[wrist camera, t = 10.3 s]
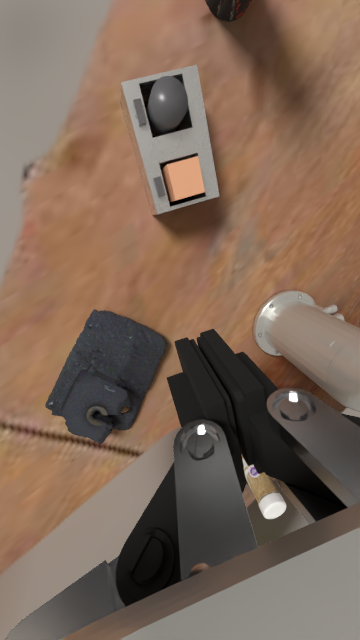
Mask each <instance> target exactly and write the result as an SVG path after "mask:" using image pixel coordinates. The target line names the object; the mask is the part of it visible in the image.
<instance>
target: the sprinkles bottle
mask: <svg viewBox="0 0 360 640" xmlns="http://www.w3.org/2000/svg"><path fill="white" fill-rule="evenodd" d="M241 455H242V454H241ZM242 460H243V465H244V473H245V478H246V480H247V482H248V484H249V486H250V488H251V490H252V491H253V493H254V495H255V497H256V499H257V501H258V505H259V508H260V510H261V512H262V514H263V515H264V517H265V518H267V519H273V518H276V517H278V516H280V515H281V514H282V513H283V512H284V511H285V509H286V503H285V502H284V500H283V498H282V496H281V495H280V494H279V492H277V489H276V488H275V486H274V484H273V482H272V481H271V479H270V477H269V476H268V475H266V474H265V472H263V473H261V474H258V472H257V471H256V469H255V467H254V465H250V466H248V465H247V463H246V462H245V460H244V458H243V456H242Z"/></svg>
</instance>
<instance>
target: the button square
mask: <svg viewBox="0 0 360 640" xmlns="http://www.w3.org/2000/svg"><path fill="white" fill-rule="evenodd" d="M161 173H162V177H163V181H164V185H165V189H166V193H167V196H168V200H169V202H172V201H176V200H179V199H183V198H186V197H190V196H193V195H196V194H200V193H203V192H205V189H204V184H203V179H202V174H201V168H200V163H199V158H198V156H197V157H193V158H189V159H186V160H182V161H178V162H175V163H171V164H167V165H166V166H165V167H164V168H163V169H162V170H161Z"/></svg>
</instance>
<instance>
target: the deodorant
mask: <svg viewBox="0 0 360 640" xmlns="http://www.w3.org/2000/svg"><path fill="white" fill-rule="evenodd" d="M251 1H252V0H206V3H207V5H208V7H209V8H210V10H211V11H212V12H213V14H214V15H215V16H216V17H218V18H220V19H222V20H225V21H232V20H236V19H237V18H239V17H240V16H241V15H242V14H243V13H244V12H245V10H246V9H247V7H248V6H249V4H250V2H251Z"/></svg>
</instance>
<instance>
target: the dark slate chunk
mask: <svg viewBox="0 0 360 640" xmlns="http://www.w3.org/2000/svg"><path fill="white" fill-rule="evenodd" d="M166 347H167V342H166V340H165V339H164V337H163V336H162V335H160V334H158V333H156V332H154V331H152V330H150V329H149V328H147V327H146V326H143V325H141V324H138V323H135V322H134V321H132V320H130V319H128V318H126V317H123V316H120V315H115V314H114V313H112V312H110V311H109V312H108V311H99V312H98V311H96V310H93V312H92V313H91V315H90V317H89V318H88V319H87V321H86V324H85V327H84V330H83V332H82V333H81V334H80V336H79V338H78V339H77V341H76V344H75V345H74V347H73V349H72V351H71V352H70V354H69V357H68V358H67V360H66V363H65V366H64V367H63V369H62V371H61V373H60V375H59V378H58V380H57V382H56V384H55V387H54V388H53V390H52V393H51V394H50V396H49V398H48V401H47V402H46V408H48V409H50V410H52V415H57V416H62V417H64V418H65V420H66V422H65V424H66V426H67V427H68V431H69V432H71V433H72V434H75V435H78V436H83V437H88V438H90V439H92V440H94V441H95V442H98V443H99V444H101V443H103V442H104V441H105V439H106V437H107V436H108V435H109V433H112V429H118V430H127V429H129V428H130V427H131V425H132V424H133V422H134V421H135V417H136V415H137V413H138V411H139V408H140V406H141V403H142V400H143V398H144V394H145V393H146V391H147V390H148V389H149V386H150V385H151V383H152V381H153V376H154V374H155V372H156V369H157V367H158V365H159V362H160V360H161V358H162V356H163V354H164V353H165V348H166ZM124 406H127V407H130V410H129V411H127V412H125V413H121V411H122V408H123V407H124ZM111 428H112V429H111Z"/></svg>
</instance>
